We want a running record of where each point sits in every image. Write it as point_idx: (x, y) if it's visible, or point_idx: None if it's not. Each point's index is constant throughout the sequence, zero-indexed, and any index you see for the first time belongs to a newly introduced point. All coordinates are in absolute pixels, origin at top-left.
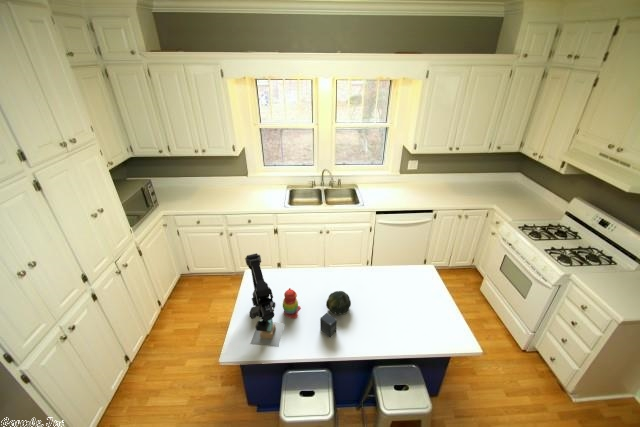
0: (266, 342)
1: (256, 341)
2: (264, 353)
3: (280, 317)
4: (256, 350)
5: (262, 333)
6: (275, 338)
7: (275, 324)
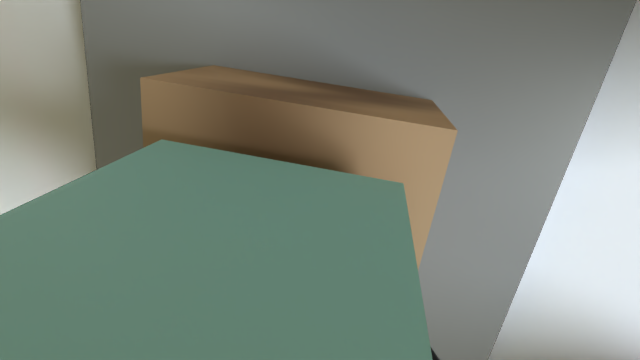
0: None
1: (137, 2)
2: (24, 147)
3: (622, 329)
4: (34, 27)
5: (145, 141)
6: None
7: (473, 282)
